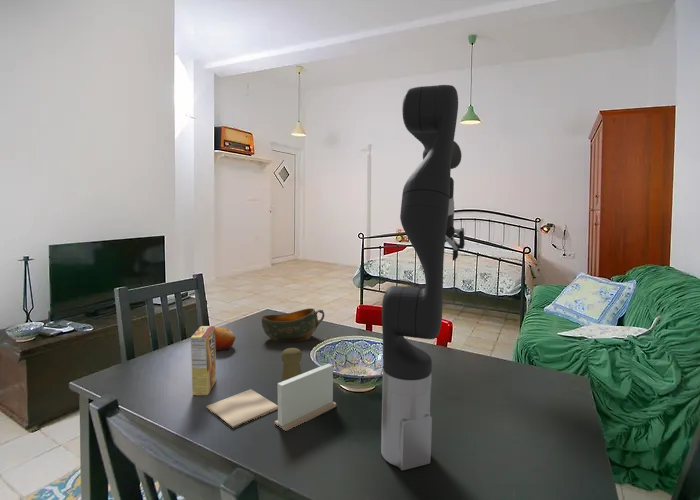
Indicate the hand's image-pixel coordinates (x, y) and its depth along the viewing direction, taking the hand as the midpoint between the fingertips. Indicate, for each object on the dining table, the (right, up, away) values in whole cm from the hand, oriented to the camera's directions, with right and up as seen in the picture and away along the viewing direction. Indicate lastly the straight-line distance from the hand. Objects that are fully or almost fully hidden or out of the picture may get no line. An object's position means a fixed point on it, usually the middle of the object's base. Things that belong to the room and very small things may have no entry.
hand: (440, 258), depth 128 cm
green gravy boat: (-49, -29, +15) cm, 59 cm away
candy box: (-67, -34, -23) cm, 78 cm away
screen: (-39, -35, -36) cm, 64 cm away
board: (-54, -35, -33) cm, 73 cm away
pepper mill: (-44, -34, -24) cm, 60 cm away
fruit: (-71, -30, +4) cm, 77 cm away
